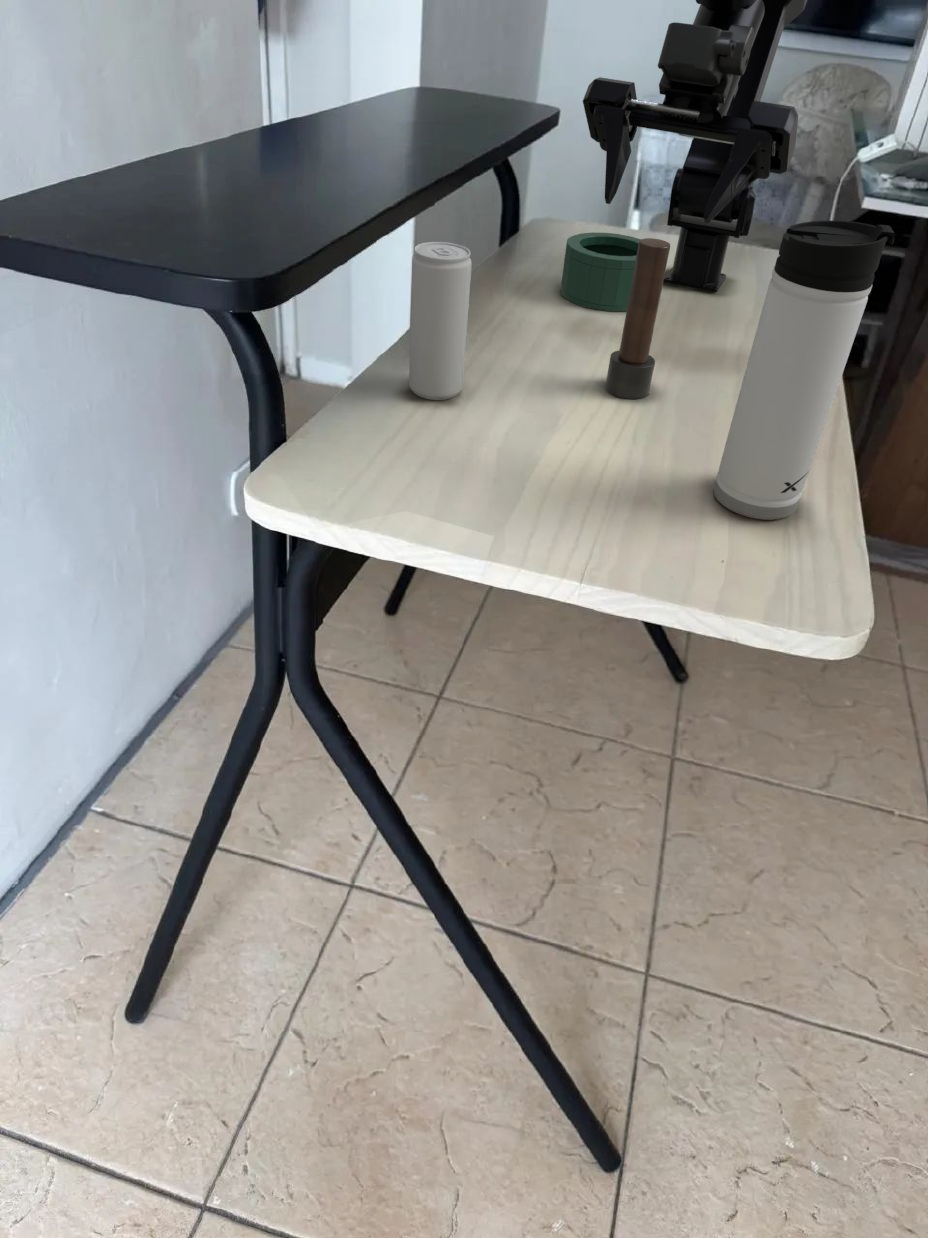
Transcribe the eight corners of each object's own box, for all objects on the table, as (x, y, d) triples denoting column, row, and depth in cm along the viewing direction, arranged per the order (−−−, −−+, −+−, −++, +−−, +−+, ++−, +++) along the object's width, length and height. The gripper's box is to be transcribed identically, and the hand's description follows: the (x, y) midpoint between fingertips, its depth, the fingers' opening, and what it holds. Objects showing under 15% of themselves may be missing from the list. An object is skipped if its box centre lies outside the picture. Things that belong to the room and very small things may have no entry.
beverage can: (422, 405, 79) (428, 261, 71) (398, 383, 82) (402, 243, 75) (471, 397, 81) (483, 256, 73) (447, 376, 84) (455, 239, 77)
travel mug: (804, 528, 67) (904, 243, 55) (713, 513, 68) (791, 228, 56) (797, 487, 72) (888, 216, 60) (712, 473, 73) (784, 203, 60)
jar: (575, 275, 110) (582, 227, 106) (657, 291, 107) (667, 242, 104) (548, 299, 102) (555, 248, 99) (636, 317, 100) (645, 265, 96)
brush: (611, 377, 86) (637, 232, 78) (653, 386, 85) (683, 240, 77) (599, 392, 83) (625, 243, 75) (642, 402, 82) (673, 252, 74)
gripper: (606, -33, 78) (541, 134, 78) (829, -8, 72) (762, 173, 72) (621, 63, 89) (564, 210, 88) (817, 91, 83) (758, 250, 82)
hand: (655, 210), depth 82 cm, fingers open, 9 cm apart
